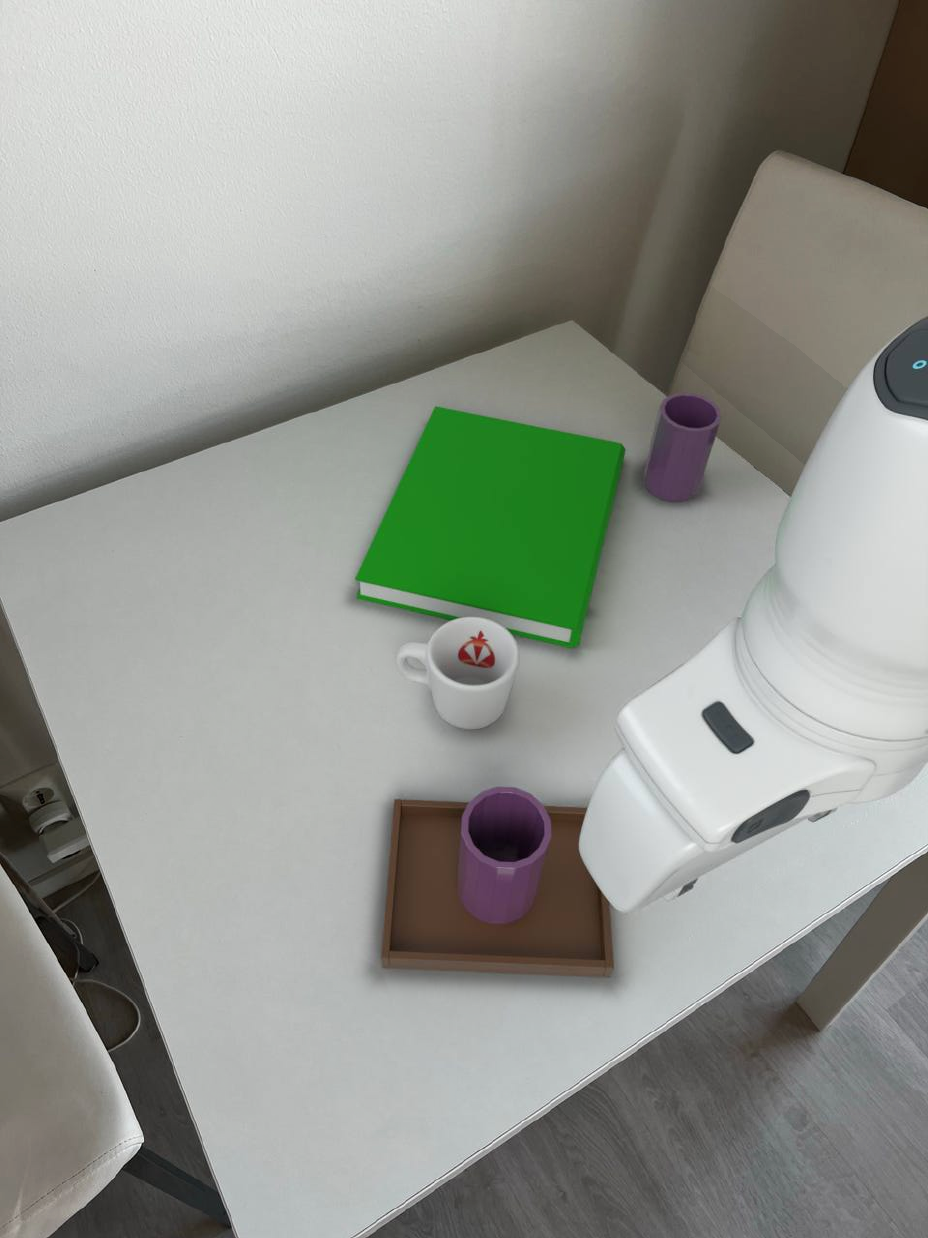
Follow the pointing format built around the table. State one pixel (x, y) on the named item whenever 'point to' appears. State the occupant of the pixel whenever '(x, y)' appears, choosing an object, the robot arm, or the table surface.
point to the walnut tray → (457, 941)
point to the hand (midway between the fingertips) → (742, 843)
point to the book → (496, 526)
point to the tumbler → (681, 446)
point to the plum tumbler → (502, 854)
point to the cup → (465, 670)
